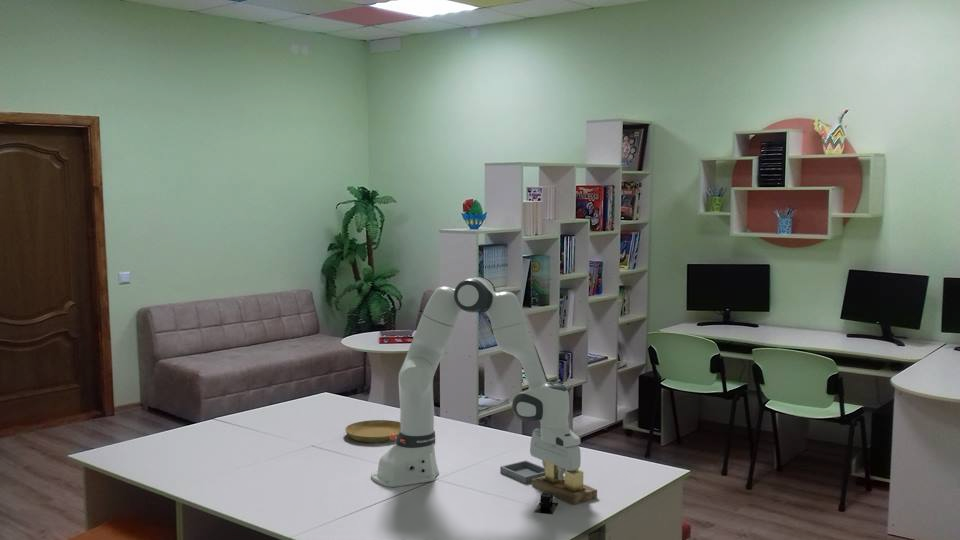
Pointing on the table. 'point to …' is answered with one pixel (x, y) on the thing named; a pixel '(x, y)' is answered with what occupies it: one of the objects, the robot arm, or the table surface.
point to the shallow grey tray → (523, 471)
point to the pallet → (565, 491)
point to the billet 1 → (551, 473)
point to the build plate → (546, 504)
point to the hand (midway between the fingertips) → (554, 477)
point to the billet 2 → (574, 481)
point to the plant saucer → (373, 430)
